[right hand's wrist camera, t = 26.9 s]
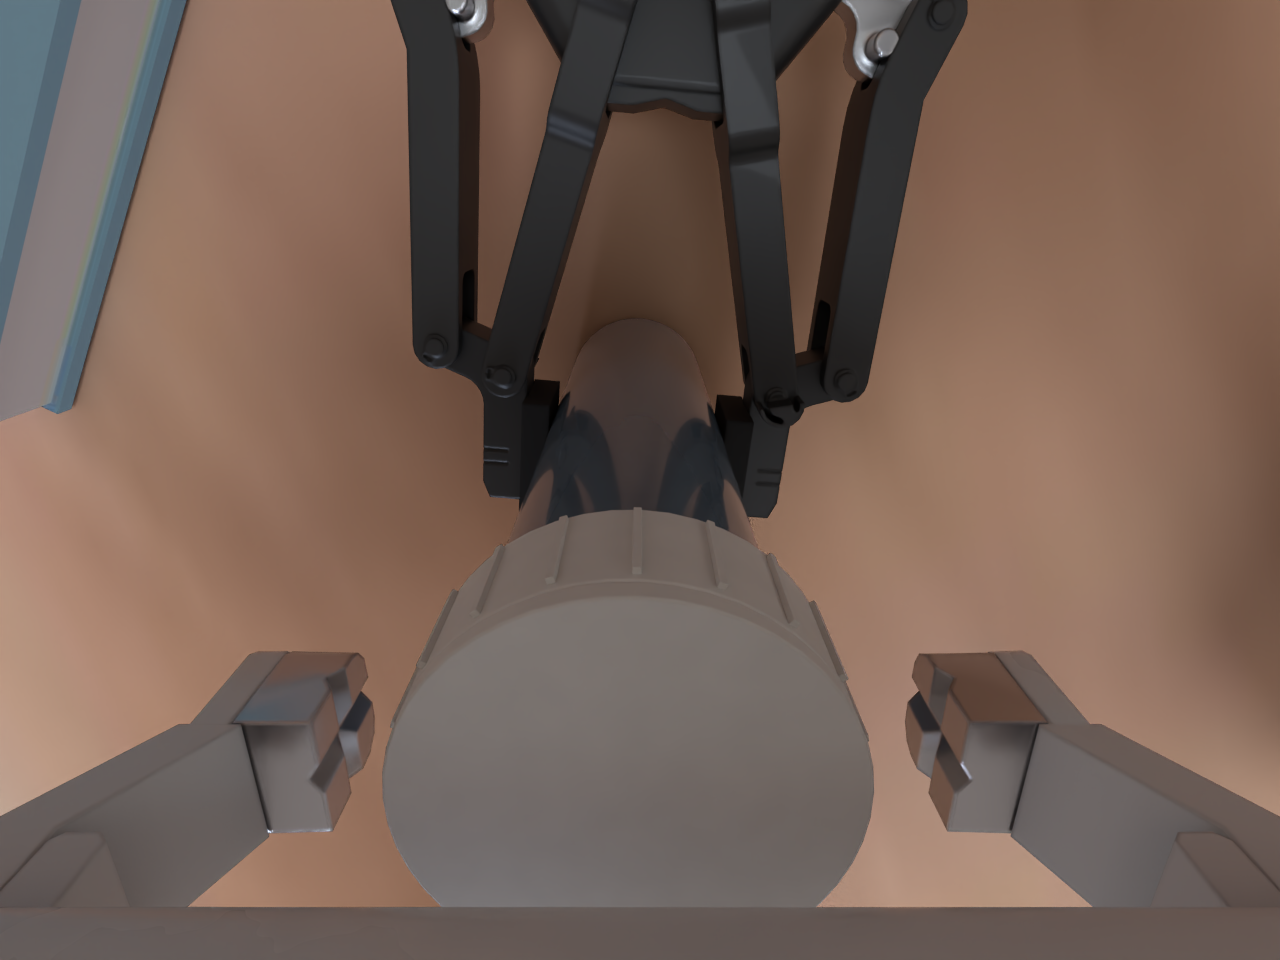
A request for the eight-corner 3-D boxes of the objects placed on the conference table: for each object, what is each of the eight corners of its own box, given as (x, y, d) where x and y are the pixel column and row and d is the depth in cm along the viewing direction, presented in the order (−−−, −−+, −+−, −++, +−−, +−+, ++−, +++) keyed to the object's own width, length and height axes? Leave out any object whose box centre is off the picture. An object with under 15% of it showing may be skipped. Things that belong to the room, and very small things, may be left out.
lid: (806, 463, 9) (855, 541, 7) (853, 806, 12) (900, 943, 9) (371, 548, 10) (298, 646, 8) (494, 863, 12) (464, 1005, 10)
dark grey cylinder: (700, 316, 27) (827, 583, 9) (699, 441, 29) (802, 877, 10) (569, 319, 27) (421, 591, 9) (576, 444, 29) (465, 883, 11)
